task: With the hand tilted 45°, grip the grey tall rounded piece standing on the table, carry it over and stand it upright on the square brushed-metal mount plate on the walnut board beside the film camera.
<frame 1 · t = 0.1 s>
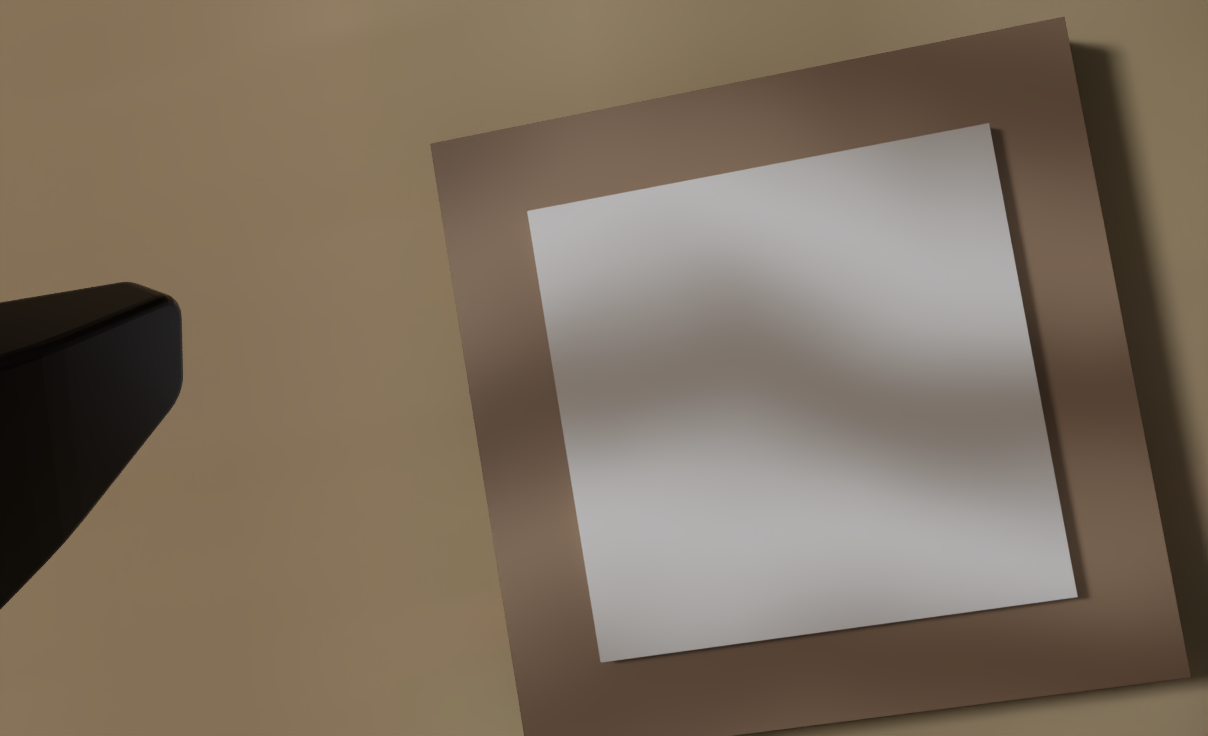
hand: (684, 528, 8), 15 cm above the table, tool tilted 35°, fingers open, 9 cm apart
mount board: (786, 396, 22), on the table
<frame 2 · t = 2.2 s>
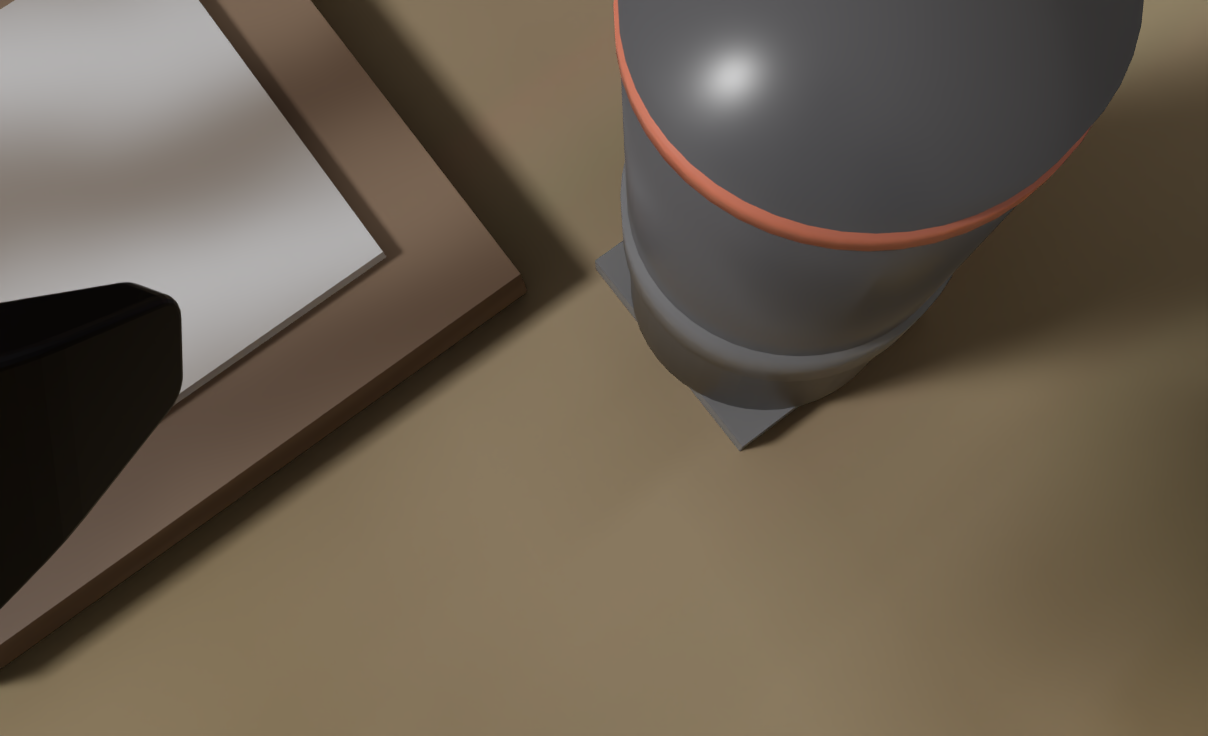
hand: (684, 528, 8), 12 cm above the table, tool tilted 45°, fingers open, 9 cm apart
mount board: (94, 236, 22), on the table
grey tall rounded piece: (758, 290, 21), on the table
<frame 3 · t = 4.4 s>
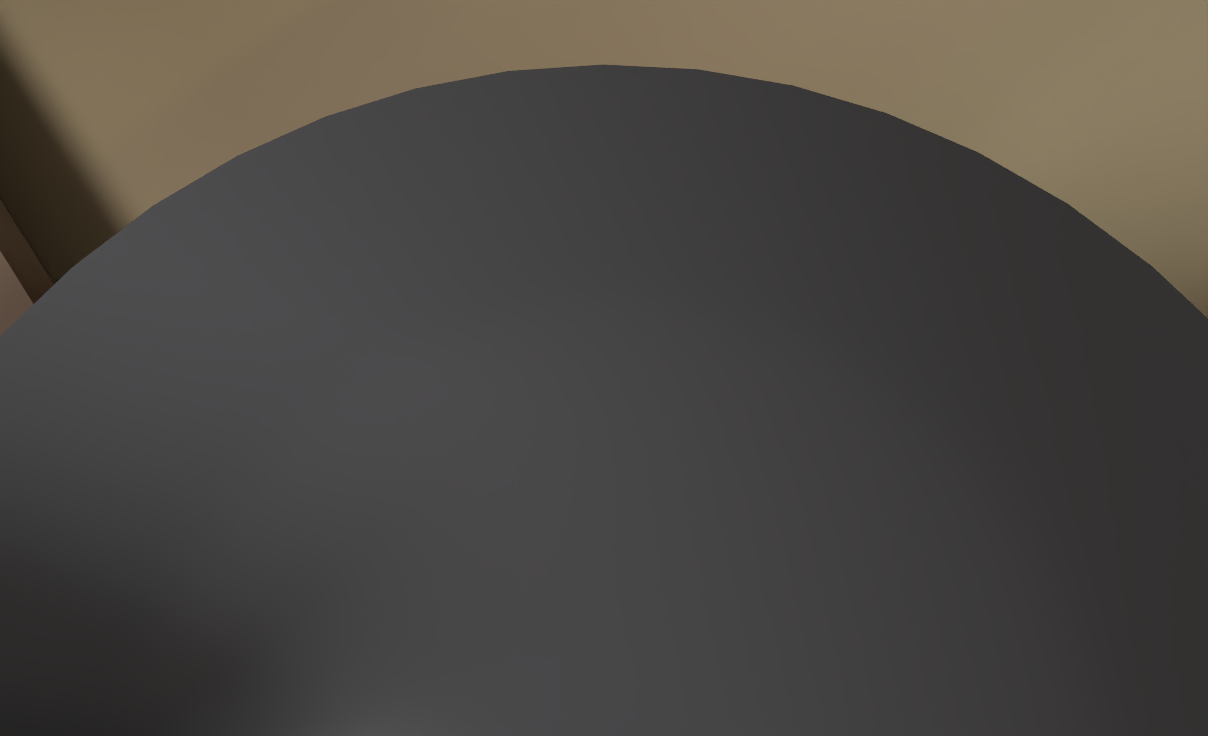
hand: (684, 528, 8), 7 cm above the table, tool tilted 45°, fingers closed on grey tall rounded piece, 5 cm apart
grey tall rounded piece: (633, 653, 14), on the table, touching gripper
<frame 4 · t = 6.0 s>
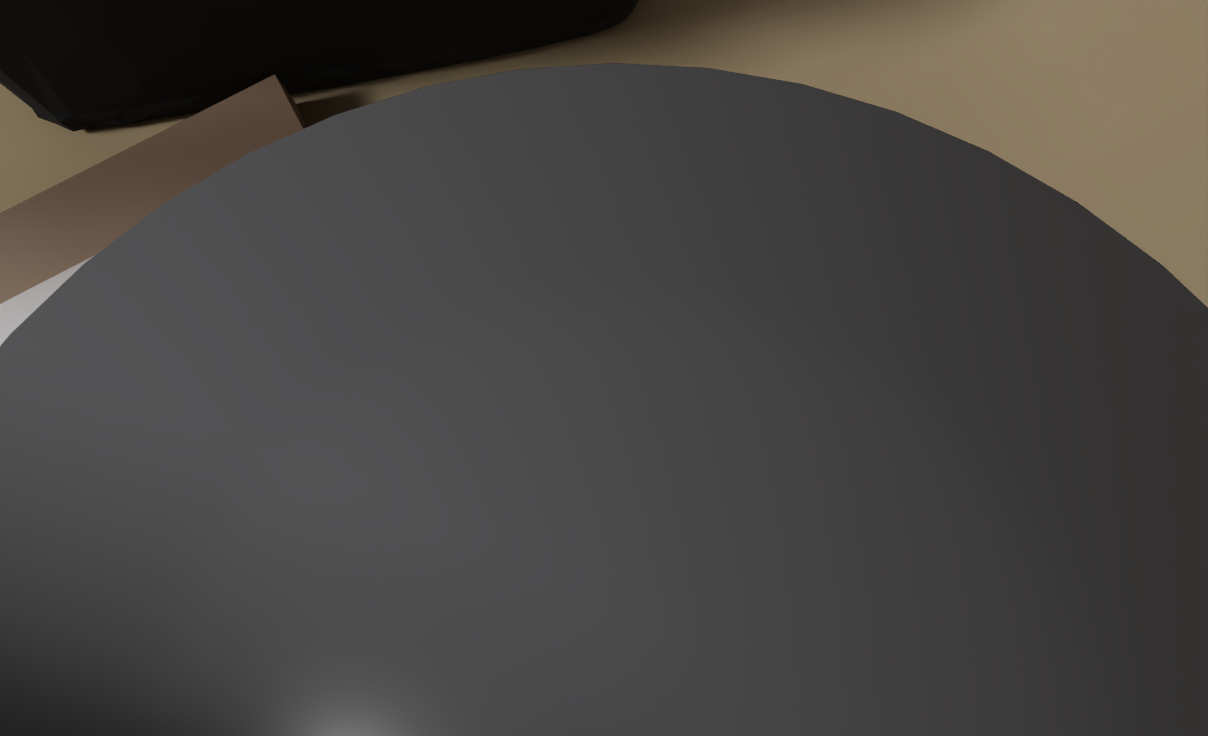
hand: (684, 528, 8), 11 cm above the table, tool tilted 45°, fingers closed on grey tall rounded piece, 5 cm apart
mount board: (123, 542, 19), on the table
grey tall rounded piece: (636, 652, 14), point 5 cm above the table, touching gripper
when the fingers open (9 cm above the table, at t = 7.7 s): grey tall rounded piece stays where it is, resting on mount board.
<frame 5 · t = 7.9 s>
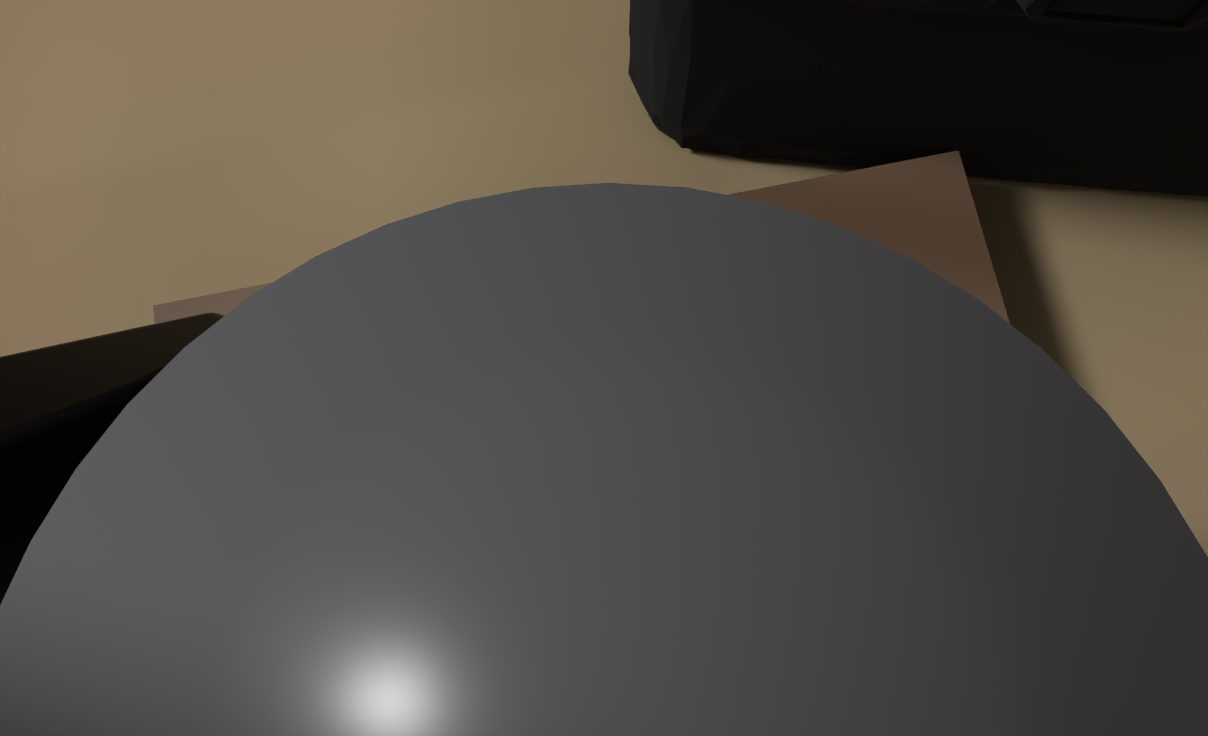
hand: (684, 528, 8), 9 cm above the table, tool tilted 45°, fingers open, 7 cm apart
mount board: (635, 642, 16), on the table
grey tall rounded piece: (633, 652, 15), point 1 cm above the table, touching mount board
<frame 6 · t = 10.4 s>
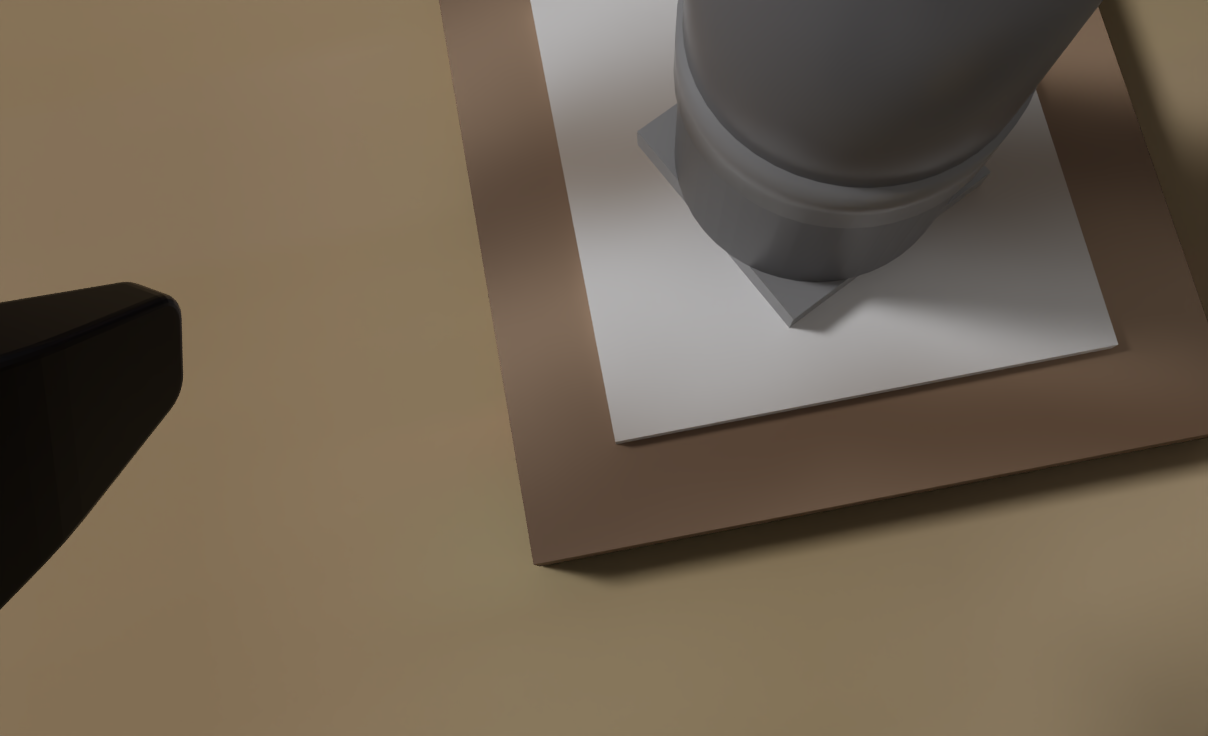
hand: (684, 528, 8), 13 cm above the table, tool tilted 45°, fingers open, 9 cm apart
mount board: (796, 190, 22), on the table
grey tall rounded piece: (806, 164, 20), point 1 cm above the table, touching mount board
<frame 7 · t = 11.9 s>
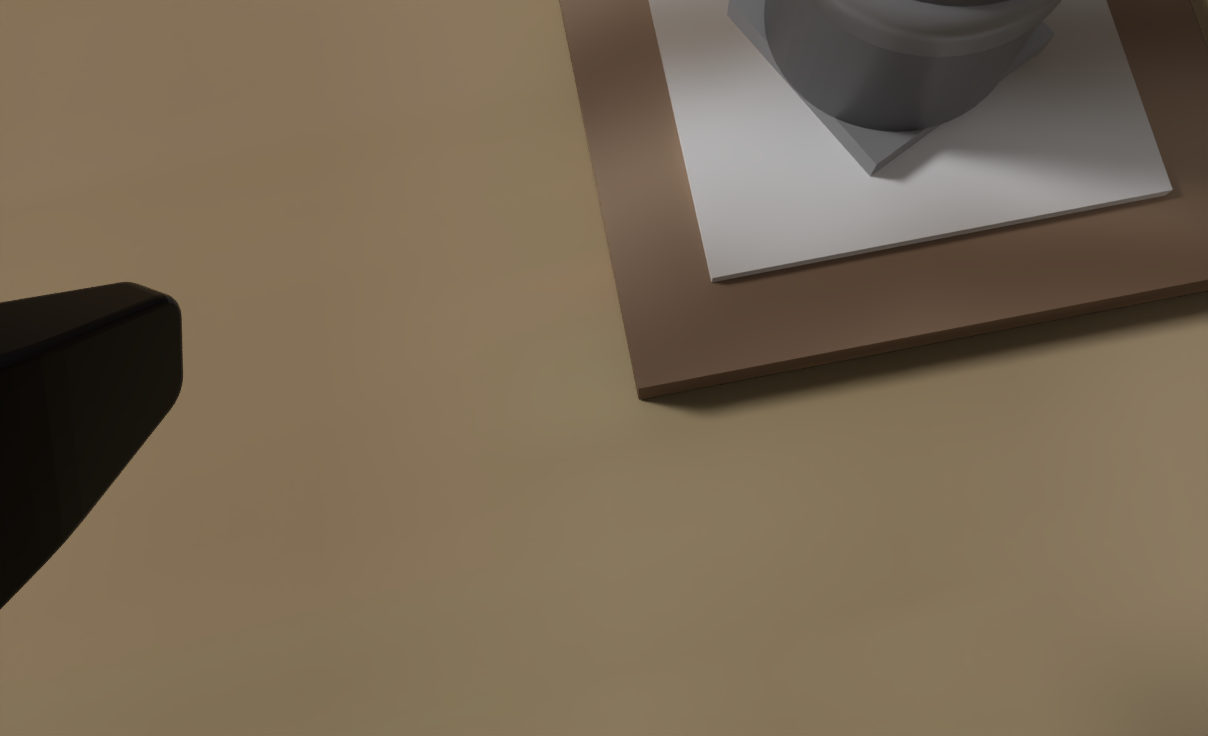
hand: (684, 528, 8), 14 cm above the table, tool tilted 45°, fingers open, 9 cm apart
mount board: (869, 64, 23), on the table
grey tall rounded piece: (883, 31, 22), point 1 cm above the table, touching mount board
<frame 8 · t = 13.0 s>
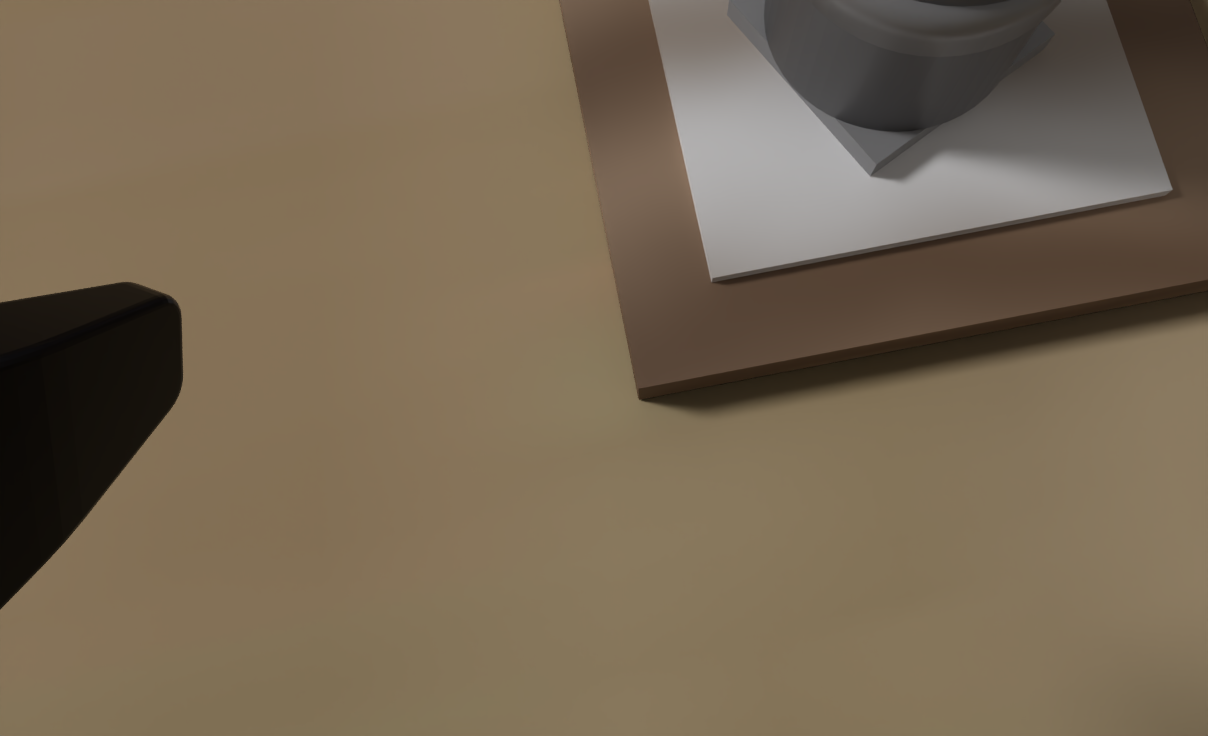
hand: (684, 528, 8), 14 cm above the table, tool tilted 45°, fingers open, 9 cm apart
mount board: (869, 64, 23), on the table
grey tall rounded piece: (883, 31, 22), point 1 cm above the table, touching mount board
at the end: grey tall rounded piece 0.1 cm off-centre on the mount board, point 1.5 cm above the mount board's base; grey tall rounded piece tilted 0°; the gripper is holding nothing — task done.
